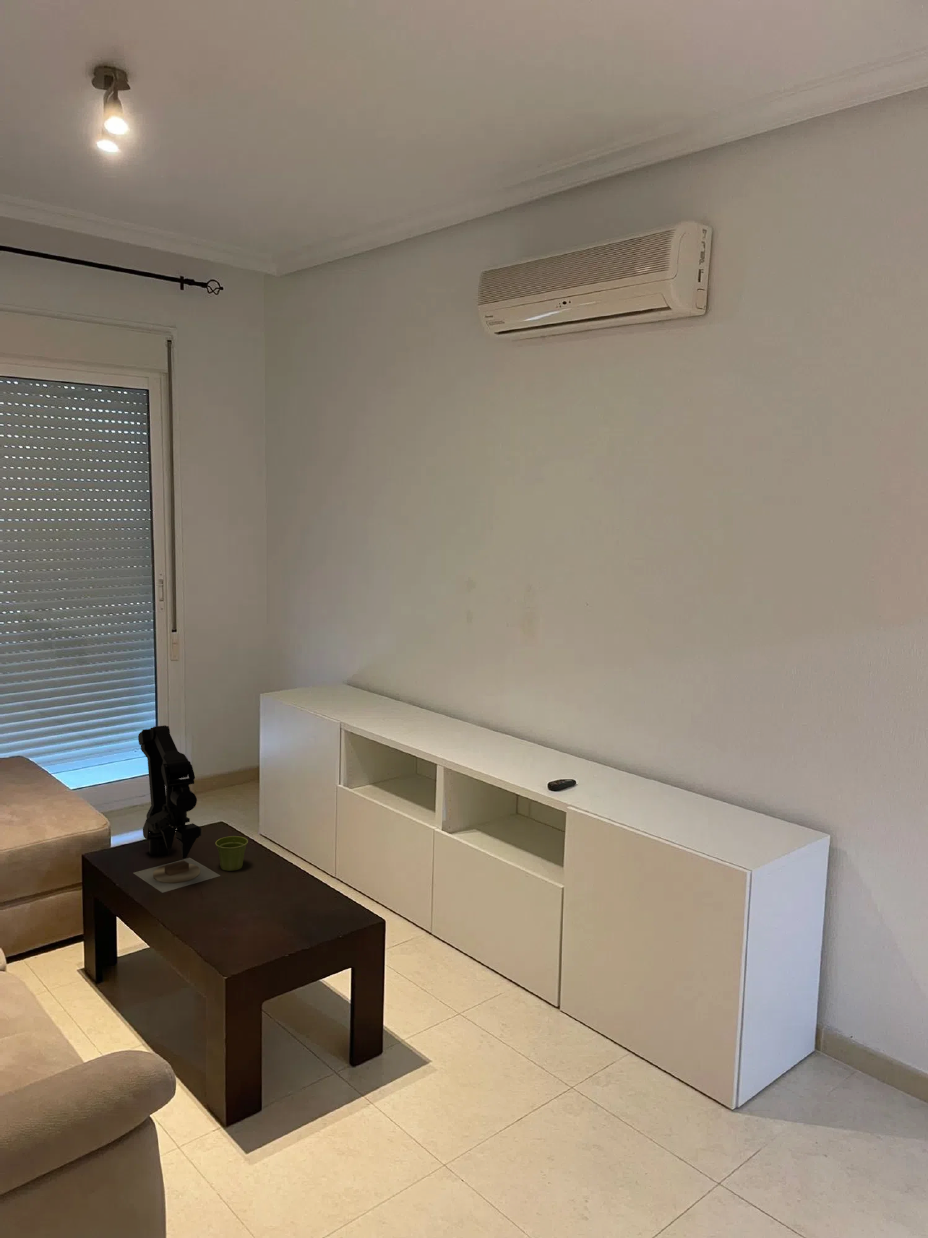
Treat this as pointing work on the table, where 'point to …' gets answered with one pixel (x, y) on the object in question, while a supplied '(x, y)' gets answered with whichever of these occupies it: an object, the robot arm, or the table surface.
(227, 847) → the plant pot
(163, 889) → the mat
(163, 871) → the lid
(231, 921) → the table surface
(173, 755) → the robot arm
